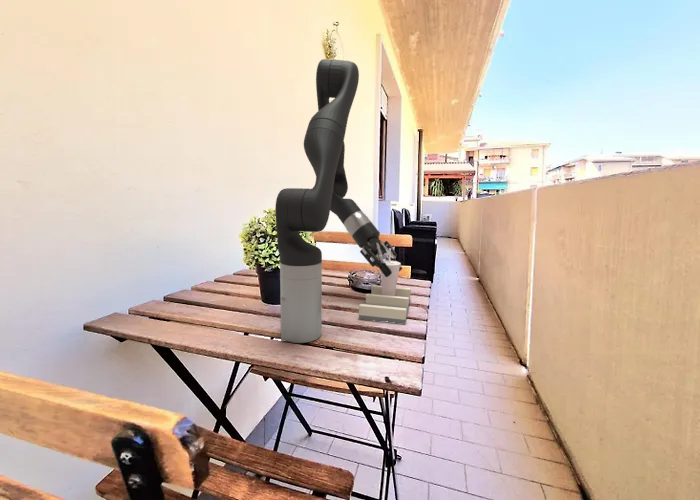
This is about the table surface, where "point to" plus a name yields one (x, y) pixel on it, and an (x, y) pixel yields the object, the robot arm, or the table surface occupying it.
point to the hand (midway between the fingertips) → (394, 272)
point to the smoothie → (390, 277)
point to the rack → (386, 305)
